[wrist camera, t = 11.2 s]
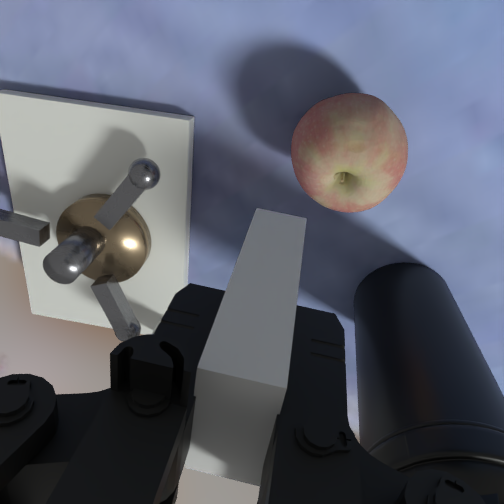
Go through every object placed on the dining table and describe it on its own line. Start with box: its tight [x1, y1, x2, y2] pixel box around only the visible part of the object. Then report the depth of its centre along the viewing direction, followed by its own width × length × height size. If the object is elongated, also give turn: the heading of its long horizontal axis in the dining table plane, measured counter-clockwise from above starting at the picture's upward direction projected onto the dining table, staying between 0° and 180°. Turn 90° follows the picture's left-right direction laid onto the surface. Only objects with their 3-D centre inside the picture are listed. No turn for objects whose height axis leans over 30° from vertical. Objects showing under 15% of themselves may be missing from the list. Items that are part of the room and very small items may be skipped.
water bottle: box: [354, 263, 504, 504], centre depth 30 cm, size 10×10×23 cm
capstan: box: [0, 158, 161, 342], centre depth 37 cm, size 16×18×6 cm
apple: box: [291, 93, 408, 212], centre depth 30 cm, size 8×8×8 cm
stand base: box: [0, 89, 194, 335], centre depth 36 cm, size 22×16×11 cm
